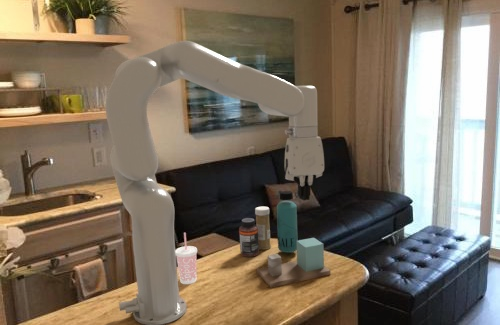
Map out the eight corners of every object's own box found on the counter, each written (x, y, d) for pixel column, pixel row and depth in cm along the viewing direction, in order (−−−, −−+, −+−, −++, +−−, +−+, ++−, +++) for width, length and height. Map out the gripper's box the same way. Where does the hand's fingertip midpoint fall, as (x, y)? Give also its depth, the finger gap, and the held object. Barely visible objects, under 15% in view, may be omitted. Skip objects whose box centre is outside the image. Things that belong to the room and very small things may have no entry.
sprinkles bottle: (273, 247, 144) (272, 208, 141) (262, 251, 142) (260, 210, 139) (265, 243, 148) (263, 205, 145) (254, 247, 145) (252, 207, 143)
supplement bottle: (247, 249, 144) (246, 215, 142) (263, 252, 140) (261, 218, 138) (236, 255, 139) (234, 221, 137) (252, 259, 136) (250, 223, 134)
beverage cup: (174, 285, 121) (170, 236, 118) (180, 275, 127) (176, 228, 124) (196, 285, 120) (192, 236, 117) (201, 275, 126) (198, 228, 123)
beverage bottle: (292, 247, 143) (290, 187, 139) (302, 255, 137) (300, 192, 133) (274, 251, 141) (272, 190, 137) (283, 258, 135) (280, 195, 131)
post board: (270, 287, 117) (269, 265, 116) (257, 272, 126) (256, 252, 125) (330, 274, 123) (330, 253, 122) (313, 261, 132) (312, 241, 131)
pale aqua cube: (306, 271, 122) (305, 247, 121) (297, 264, 128) (296, 240, 126) (323, 267, 124) (323, 243, 123) (314, 260, 129) (313, 237, 128)
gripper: (283, 136, 112) (285, 206, 115) (335, 131, 117) (335, 198, 120) (272, 133, 119) (273, 199, 122) (321, 129, 124) (321, 192, 127)
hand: (304, 198), depth 121 cm, fingers closed
